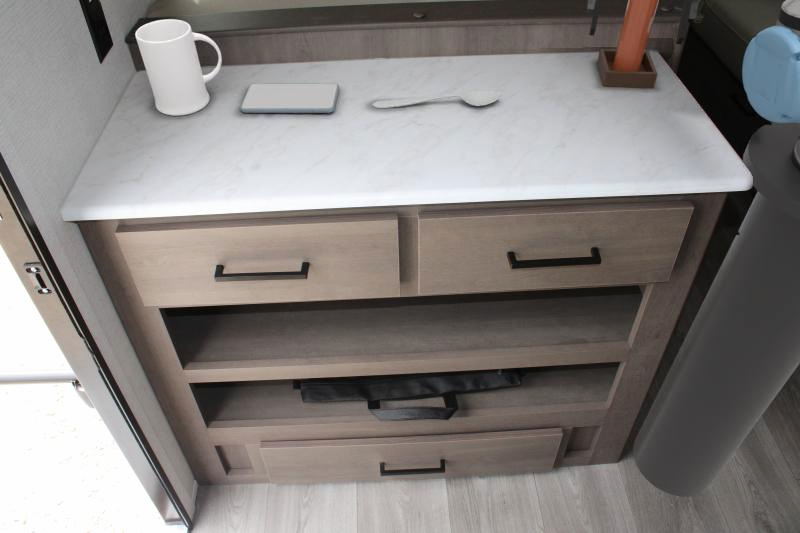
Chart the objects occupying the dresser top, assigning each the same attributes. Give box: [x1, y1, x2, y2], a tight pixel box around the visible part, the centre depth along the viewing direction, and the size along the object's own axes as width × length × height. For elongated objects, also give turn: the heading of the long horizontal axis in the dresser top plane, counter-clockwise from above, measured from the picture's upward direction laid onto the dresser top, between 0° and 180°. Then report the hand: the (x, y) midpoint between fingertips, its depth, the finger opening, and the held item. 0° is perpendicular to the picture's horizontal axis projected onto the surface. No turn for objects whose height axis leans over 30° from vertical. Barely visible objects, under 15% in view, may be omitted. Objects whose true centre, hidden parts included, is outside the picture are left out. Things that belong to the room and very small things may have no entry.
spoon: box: [372, 90, 502, 109], centre depth 101 cm, size 4×21×2 cm, turn 92°
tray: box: [596, 48, 658, 89], centre depth 107 cm, size 8×8×3 cm
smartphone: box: [239, 82, 340, 114], centre depth 102 cm, size 8×1×15 cm
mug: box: [134, 18, 223, 117], centre depth 99 cm, size 12×8×12 cm
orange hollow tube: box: [612, 0, 660, 72], centre depth 102 cm, size 4×4×14 cm
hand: (635, 37), depth 101 cm, fingers open, 13 cm apart
